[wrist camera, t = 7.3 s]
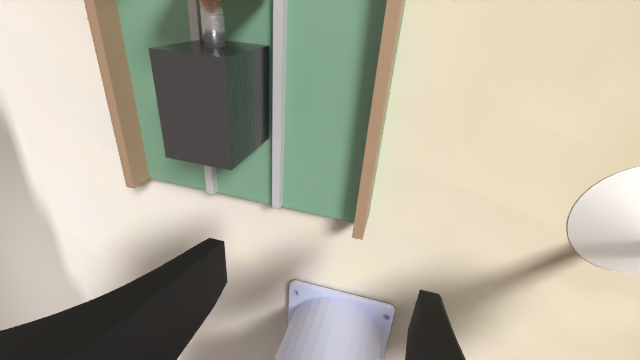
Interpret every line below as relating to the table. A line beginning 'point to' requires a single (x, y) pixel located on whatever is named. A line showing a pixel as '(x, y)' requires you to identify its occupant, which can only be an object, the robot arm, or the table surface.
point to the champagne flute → (609, 223)
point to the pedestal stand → (212, 94)
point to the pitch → (285, 96)
